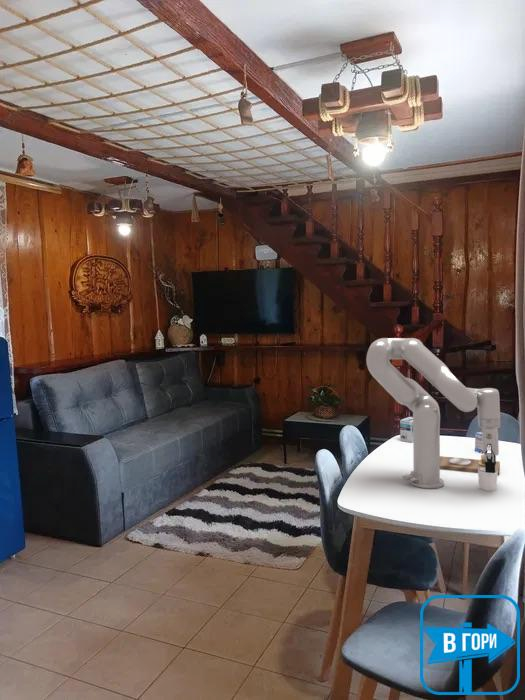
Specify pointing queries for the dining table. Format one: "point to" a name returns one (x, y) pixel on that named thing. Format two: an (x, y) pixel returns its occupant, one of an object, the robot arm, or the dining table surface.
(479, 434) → the medicine box
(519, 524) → the dining table surface
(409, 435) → the light bulb box
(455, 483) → the dining table surface
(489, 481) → the white short cylinder
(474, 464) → the fitting board
